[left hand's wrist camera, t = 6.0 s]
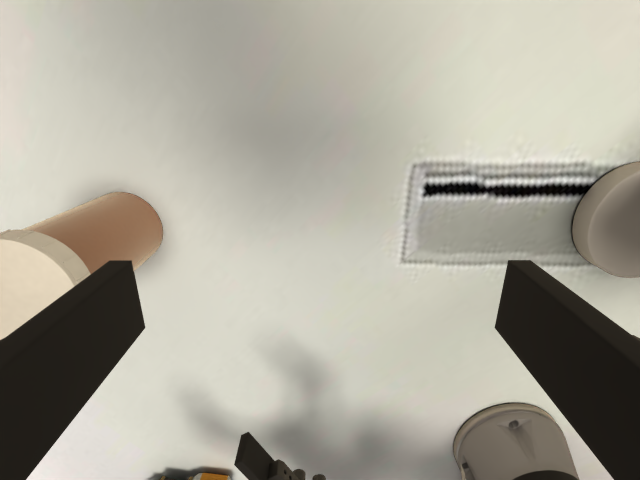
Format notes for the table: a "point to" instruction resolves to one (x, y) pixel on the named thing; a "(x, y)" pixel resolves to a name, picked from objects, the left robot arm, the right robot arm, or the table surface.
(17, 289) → the lid
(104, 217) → the jar
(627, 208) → the bust sculpture
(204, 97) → the table surface
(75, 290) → the left robot arm
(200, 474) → the spray gun
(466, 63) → the table surface
